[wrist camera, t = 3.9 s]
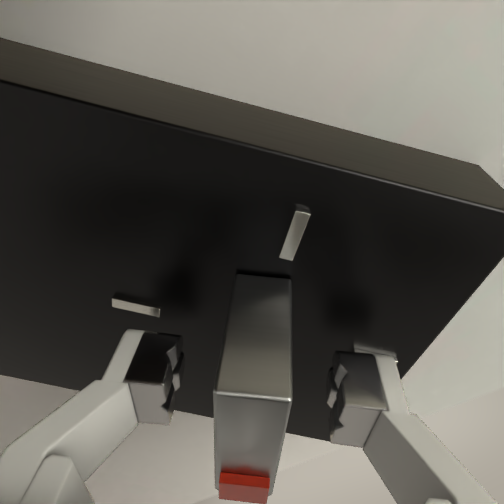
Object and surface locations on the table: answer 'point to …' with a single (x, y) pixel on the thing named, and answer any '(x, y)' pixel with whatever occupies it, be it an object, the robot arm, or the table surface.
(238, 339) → the knob
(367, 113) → the table surface
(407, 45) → the table surface
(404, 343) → the panel
